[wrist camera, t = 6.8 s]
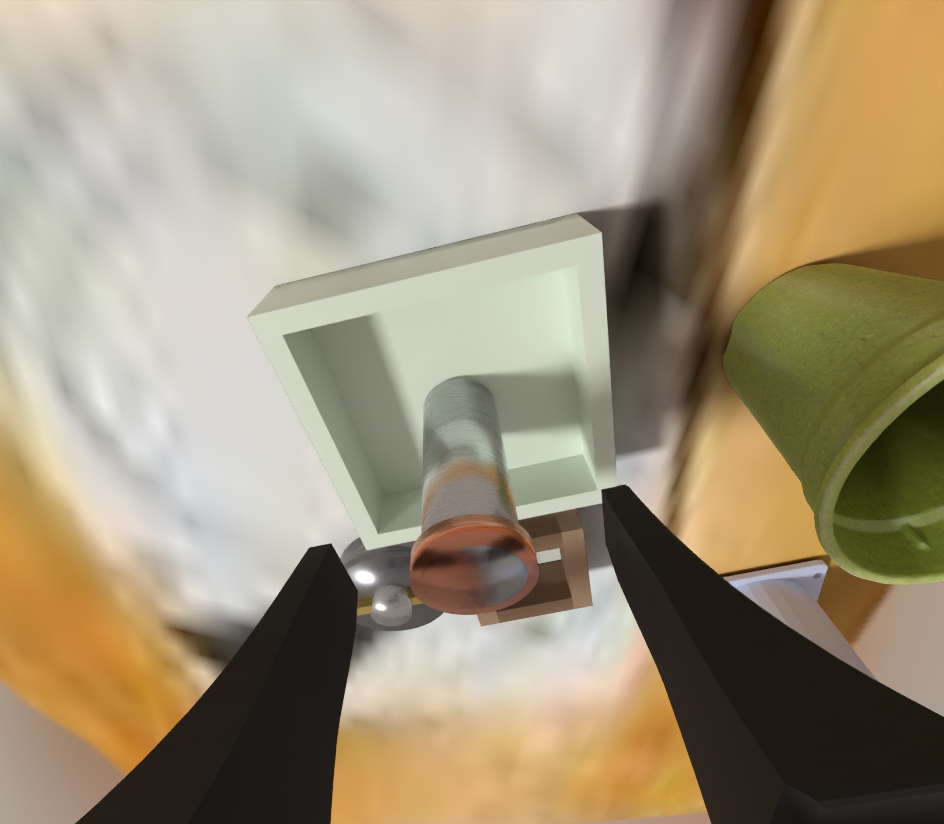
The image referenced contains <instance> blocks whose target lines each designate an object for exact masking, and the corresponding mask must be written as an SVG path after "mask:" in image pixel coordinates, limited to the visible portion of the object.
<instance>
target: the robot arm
mask: <svg viewBox="0 0 944 824" xmlns="http://www.w3.org/2000/svg"><path fill="white" fill-rule="evenodd" d="M601 494H602V506H603V517H604V528H605V539H606V545H607V548H608V551H609V554H610V558H611V561H612V564H613V567H614V570H615V573H616V576H617V579H618V581H619V584H620V586H621V588H622V590H623V593H624V595H625V597H626V599H627V602H628V604H629V606H630V608H631V611H632V613H633V615H634V617H635V619H636V622H637V624H638V626H639V628H640V630H641V633H642V635H643V637H644V639H645V642H646V644H647V646H648V648H649V650H650V653H651V655H652V657H653V659H654V661H655V664H656V666H657V668H658V671H659V673H660V676H661V678H662V681H663V683H664V686H665V689H666V691H667V694H668V697H669V700H670V703H671V706H672V708H673V711H674V714H675V717H676V720H677V723H678V725H679V728H680V731H681V734H682V737H683V740H684V743H685V746H686V749H687V752H688V755H689V758H690V761H691V763H692V766H693V769H694V772H695V775H696V778H697V781H698V784H699V787H700V790H701V793H702V796H703V799H704V803H705V806H706V809H707V812H708V815H709V818H710V821H711V823H712V824H944V717H943V716H941V715H939V714H937V713H935V712H933V711H932V710H930V709H928V708H926V707H924V706H922V705H920V704H918V703H917V702H915V701H913V700H911V699H909V698H907V697H905V696H903V695H901V694H900V693H898V692H896V691H894V690H892V689H891V688H889V687H887V686H885V685H883V684H882V683H880V682H878V681H877V680H876V678H875V677H874V676H873V675H872V673H871V672H870V670H869V669H868V668H867V667H866V666H865V664H864V663H863V661H862V660H861V659H860V657H859V656H858V655H857V653H856V652H855V651H854V650H853V648H852V647H851V646H850V644H849V643H848V642H847V640H846V639H845V638H844V637H843V635H842V634H841V633H840V631H839V630H838V629H837V627H836V626H835V625H834V624H833V622H832V621H831V620H830V618H829V617H828V616H827V614H826V613H825V612H824V611H823V609H822V608H821V607H820V605H819V604H818V603H817V600H818V597H819V594H820V591H821V588H822V585H823V582H824V578H825V575H826V572H827V569H828V566H827V565H826V563H825V562H824V561H823V560H813V561H808V562H802V563H797V564H792V565H786V566H781V567H775V568H770V569H765V570H759V571H754V572H749V573H743V574H738V575H732V576H727V577H721V576H720V575H719V574H718V573H716V572H715V571H714V570H713V569H712V568H711V567H709V566H708V565H707V564H706V563H705V562H703V561H702V560H701V559H700V558H699V557H698V556H697V555H696V554H694V553H693V552H692V551H691V550H690V549H689V548H688V547H687V546H686V545H685V544H684V543H682V542H681V541H680V540H679V539H678V538H677V537H676V536H675V535H674V534H673V533H672V532H671V531H670V530H669V529H668V528H667V527H666V526H665V525H664V524H663V523H662V522H661V521H660V520H659V519H658V518H657V517H656V516H655V515H654V514H653V513H652V512H651V511H650V510H649V509H648V508H647V507H646V506H645V505H644V503H643V502H642V501H641V500H640V499H639V498H638V497H637V496H636V495H635V493H634V492H633V491H632V490H631V489H630V487H628V486H626V485H621V486H616V487H611V488H606V489H601ZM357 602H358V590H357V588H356V586H355V584H354V583H353V581H352V579H351V577H350V576H349V574H348V572H347V570H346V569H345V567H344V565H343V563H342V562H341V560H340V558H339V556H338V555H337V553H336V551H335V549H334V548H333V546H332V544H326V545H321V546H316V547H311V548H309V549H308V551H307V552H306V553H305V555H304V556H303V558H302V559H301V561H300V562H299V564H298V565H297V567H296V568H295V570H294V571H293V573H292V574H291V576H290V577H289V579H288V580H287V582H286V583H285V585H284V586H283V588H282V589H281V591H280V592H279V594H278V595H277V597H276V598H275V600H274V601H273V603H272V604H271V606H270V607H269V609H268V610H267V612H266V613H265V614H264V616H263V617H262V619H261V620H260V622H259V623H258V625H257V626H256V627H255V629H254V630H253V631H252V633H251V634H250V635H249V637H248V638H247V640H246V641H245V642H244V644H243V645H242V646H241V648H240V649H239V650H238V652H237V653H236V654H235V656H234V657H233V658H232V660H231V661H230V662H229V664H228V665H227V666H226V668H225V669H224V670H223V671H222V673H221V674H220V675H219V676H218V677H217V679H216V680H215V681H214V682H213V684H212V685H211V686H210V687H209V688H208V689H207V691H206V692H205V693H204V694H203V695H202V697H201V698H200V699H199V700H198V701H197V702H196V704H195V705H194V706H193V707H192V708H191V709H190V710H189V712H188V713H187V714H186V715H185V716H184V717H183V718H182V719H181V720H180V721H179V722H178V723H177V724H176V725H175V727H174V728H173V729H172V730H171V731H170V732H169V733H168V734H167V735H166V736H165V737H164V738H163V739H162V740H161V741H160V743H159V744H158V745H157V746H156V747H155V748H154V749H153V750H152V751H151V752H150V753H149V754H148V755H147V756H146V757H145V758H144V759H143V760H142V761H141V762H140V763H139V764H138V765H137V766H136V767H135V768H134V769H133V770H132V771H131V772H130V773H129V774H128V775H127V776H126V777H125V778H124V779H123V780H122V781H121V782H120V783H119V784H118V785H117V786H116V787H115V788H113V789H112V790H111V791H110V792H109V793H108V794H107V795H106V796H105V797H104V798H103V799H102V800H101V801H100V802H99V803H98V804H97V805H95V806H94V807H93V808H92V809H91V810H90V811H89V812H88V813H87V814H86V815H84V816H83V817H82V818H81V819H80V820H79V821H78V822H76V823H75V824H330V822H331V807H332V792H333V779H334V767H335V756H336V745H337V736H338V729H339V722H340V716H341V710H342V705H343V699H344V694H345V688H346V683H347V677H348V672H349V666H350V661H351V655H352V649H353V644H354V638H355V632H356V620H357Z"/></svg>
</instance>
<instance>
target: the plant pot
mask: <svg viewBox="0 0 944 824" xmlns="http://www.w3.org/2000/svg"><path fill="white" fill-rule="evenodd" d="M723 369H724V372H725V375H726V378H727V380H728V382H729V383H730V385H731V386H732V387H733V389H734V390H735V391H736V393H737V394H738V395H739V397H740V398H741V400H742V401H743V402H744V404H745V405H746V406H747V408H748V409H749V410H750V412H751V413H752V414H753V416H754V417H755V419H756V420H757V421H758V423H759V424H760V425H761V427H762V428H763V430H764V431H765V433H766V434H767V435H768V437H769V438H770V440H771V441H772V442H773V444H774V445H775V446H776V448H777V449H778V451H779V452H780V453H781V455H782V456H783V457H784V459H785V460H786V462H787V463H788V464H789V466H790V467H791V469H792V470H793V471H794V473H795V474H796V476H797V477H798V479H799V480H800V481H801V483H802V488H803V493H804V496H805V498H806V501H807V503H808V504H809V506H810V507H811V509H812V511H813V512H814V520H815V529H816V532H817V535H818V538H819V541H820V543H821V545H822V547H823V548H824V550H825V551H826V553H827V554H828V555H829V556H830V558H831V559H832V560H833V561H834V562H835V563H836V564H837V565H838V566H840V567H841V568H842V569H843V570H845V571H846V572H848V573H850V574H852V575H854V576H856V577H860V578H862V579H867V580H870V581H875V582H879V583H884V584H894V585H911V584H929V583H937V582H941V581H944V281H939V280H933V279H927V278H921V277H915V276H909V275H904V274H898V273H893V272H887V271H882V270H877V269H872V268H866V267H860V266H855V265H850V264H844V263H829V264H819V265H808V266H804V267H801V268H798V269H795V270H793V271H790V272H788V273H786V274H784V275H782V276H780V277H779V278H777V279H775V280H774V281H772V282H771V283H769V284H768V285H767V286H765V287H764V288H763V289H762V290H760V291H759V292H758V293H757V294H756V295H755V296H754V297H753V298H752V299H751V300H750V301H749V302H748V303H747V304H746V305H745V306H744V308H743V309H742V310H741V311H740V313H739V314H738V316H737V317H736V319H735V321H734V323H733V326H732V331H731V336H730V339H729V343H728V346H727V348H726V351H725V353H724V355H723Z"/></svg>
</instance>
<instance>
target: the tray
mask: <svg viewBox="0 0 944 824" xmlns="http://www.w3.org/2000/svg"><path fill="white" fill-rule="evenodd" d="M246 318H247V320H248V322H249V324H250V326H251V328H252V330H253V331H254V333H255V335H256V337H257V339H258V341H259V343H260V345H261V347H262V349H263V351H264V353H265V355H266V357H267V359H268V360H269V362H270V364H271V366H272V368H273V370H274V372H275V374H276V376H277V378H278V380H279V382H280V384H281V386H282V388H283V390H284V391H285V393H286V395H287V397H288V399H289V401H290V403H291V405H292V407H293V409H294V411H295V413H296V415H297V417H298V419H299V420H300V422H301V424H302V426H303V428H304V430H305V432H306V434H307V436H308V438H309V440H310V442H311V444H312V446H313V448H314V449H315V451H316V453H317V455H318V457H319V459H320V461H321V463H322V465H323V467H324V469H325V471H326V473H327V475H328V477H329V479H330V480H331V482H332V484H333V486H334V488H335V490H336V492H337V494H338V496H339V498H340V500H341V502H342V504H343V506H344V508H345V509H346V511H347V513H348V515H349V517H350V519H351V521H352V523H353V525H354V527H355V529H356V531H357V533H358V535H359V537H360V539H361V540H362V542H363V544H364V546H365V548H366V550H371V549H376V548H381V547H386V546H391V545H396V544H401V543H406V542H411V541H416V540H417V538H418V537H419V536H420V535H421V529H422V461H423V405H424V401H425V399H426V397H427V395H428V394H429V392H430V391H431V390H432V389H433V388H434V387H436V386H437V385H439V384H440V383H442V382H445V381H448V380H451V379H459V378H461V379H470V380H474V381H477V382H479V383H481V384H483V385H484V386H485V387H486V388H487V389H489V391H490V392H491V393H492V395H493V397H494V400H495V404H496V409H497V414H498V420H499V425H500V430H501V435H502V440H503V445H504V450H505V455H506V460H507V466H508V471H509V476H510V481H511V486H512V491H513V496H514V501H515V506H516V512H517V517H518V520H521V519H526V518H531V517H536V516H541V515H546V514H551V513H556V512H561V511H566V510H571V509H576V508H581V507H586V506H591V505H596V504H601V503H602V494H601V489H606V488H611V487H616V486H617V473H616V456H615V440H614V424H613V407H612V391H611V375H610V358H609V342H608V325H607V309H606V293H605V276H604V260H603V244H602V232H601V231H599V230H598V229H597V228H595V227H594V226H593V225H591V224H590V223H589V222H587V221H586V220H585V219H583V218H582V217H581V216H579V215H578V214H577V213H575V214H571V215H567V216H563V217H558V218H554V219H550V220H546V221H542V222H538V223H534V224H530V225H525V226H521V227H517V228H513V229H509V230H505V231H501V232H497V233H493V234H488V235H484V236H480V237H476V238H472V239H468V240H464V241H460V242H455V243H451V244H447V245H443V246H439V247H435V248H431V249H427V250H422V251H418V252H414V253H410V254H406V255H402V256H398V257H394V258H390V259H385V260H381V261H377V262H373V263H369V264H365V265H361V266H357V267H352V268H348V269H344V270H340V271H336V272H332V273H328V274H324V275H319V276H315V277H311V278H307V279H303V280H299V281H295V282H291V283H286V284H282V285H278V286H275V287H274V288H273V289H272V290H271V291H270V292H269V293H268V294H267V295H266V296H265V298H264V299H263V300H262V301H261V302H260V303H259V304H258V305H257V306H256V307H255V308H254V310H253V311H252V312H251V313H250V314H249V315H248V316H247V317H246Z"/></svg>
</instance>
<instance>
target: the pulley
mask: <svg viewBox="0 0 944 824" xmlns="http://www.w3.org/2000/svg"><path fill="white" fill-rule="evenodd" d="M414 543H415V541H411V542H406V543H401V544H396V545H391V546H386V547H381V548H376V549H371V550H366V548H365V546H364V544H363V542H362V540H361V539H360V538H358V539H357V540H355V541H353V542H352V543H351V544H350V545H349V546H348V547H347V548H346V549H345V550H344V552H343V554H342V556H341V559H340V560H341V562H342V563H343V565H344V567H345V569H346V570H347V572H348V574H349V576H350V577H351V579H352V581H353V583H354V584H355V586H356V588H357V590H358V602H357V620H356V623H357V624H359V625H362V626H365V627H368V628H372V629H377V630H385V631H400V630H408V629H413V628H417V627H420V626H423V625H426V624H428V623H430V622H432V621H434V620H435V619H436V618H438V617H439V616H440V615H441V614H442V613H443V612H442V611H438V610H435V609H433V608H431V607H429V606H427V605H425V604H424V603H422V602H421V601H420V600H419V599H418V598H417V597H416V596H415V595H414V593H413V592H412V590H411V587H410V560H411V550H412V547H413V545H414Z"/></svg>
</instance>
